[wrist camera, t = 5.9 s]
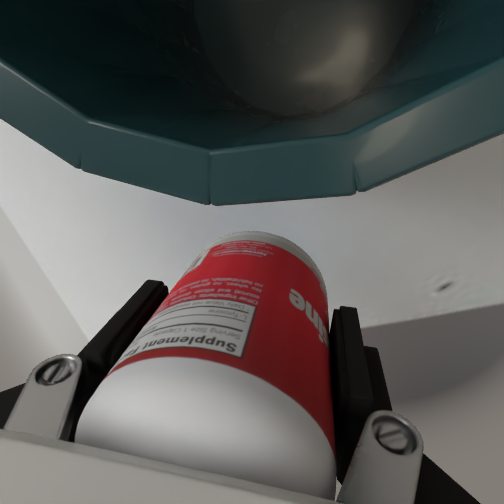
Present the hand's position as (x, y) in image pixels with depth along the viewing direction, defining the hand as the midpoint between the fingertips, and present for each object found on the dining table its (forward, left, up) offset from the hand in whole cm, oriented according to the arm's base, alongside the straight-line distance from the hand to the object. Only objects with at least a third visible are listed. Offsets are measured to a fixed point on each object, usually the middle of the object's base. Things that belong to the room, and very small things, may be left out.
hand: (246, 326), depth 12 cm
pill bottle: (0, 0, -3) cm, 3 cm away
